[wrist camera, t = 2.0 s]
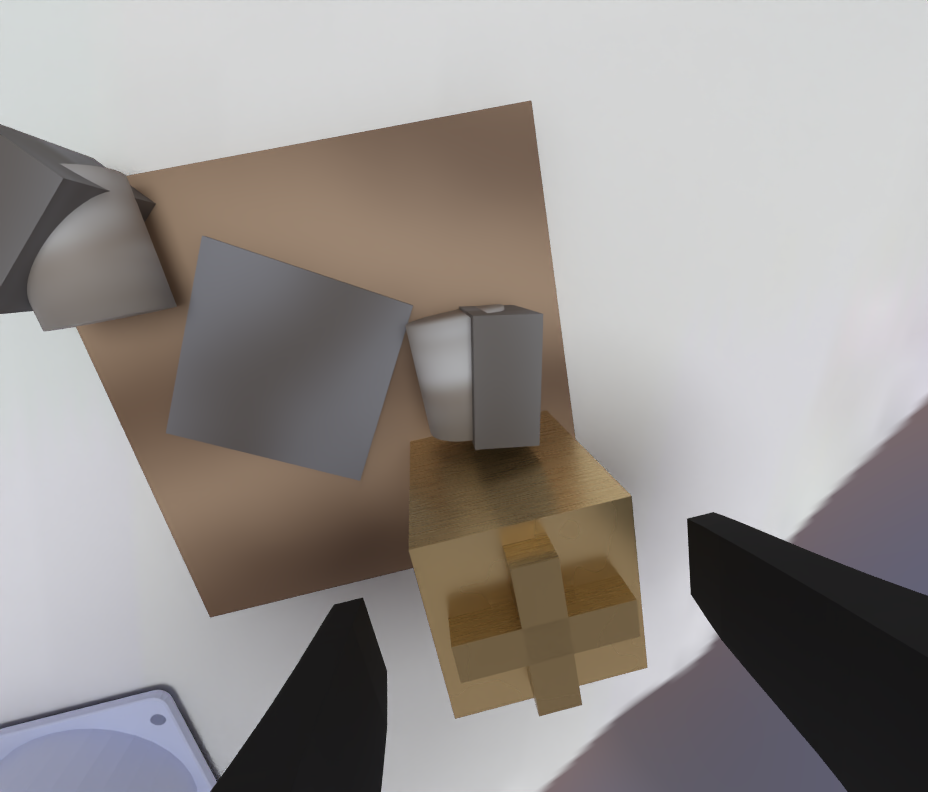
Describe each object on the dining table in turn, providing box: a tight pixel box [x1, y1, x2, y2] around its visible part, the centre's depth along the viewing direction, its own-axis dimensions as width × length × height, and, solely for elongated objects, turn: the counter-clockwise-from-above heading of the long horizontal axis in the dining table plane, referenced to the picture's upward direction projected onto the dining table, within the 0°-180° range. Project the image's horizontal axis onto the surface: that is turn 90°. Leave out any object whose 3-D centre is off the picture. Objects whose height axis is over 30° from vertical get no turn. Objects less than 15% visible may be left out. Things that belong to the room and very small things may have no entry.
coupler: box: [409, 410, 647, 719], centre depth 11 cm, size 4×4×6 cm
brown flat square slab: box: [0, 101, 575, 617], centre depth 12 cm, size 14×13×4 cm
